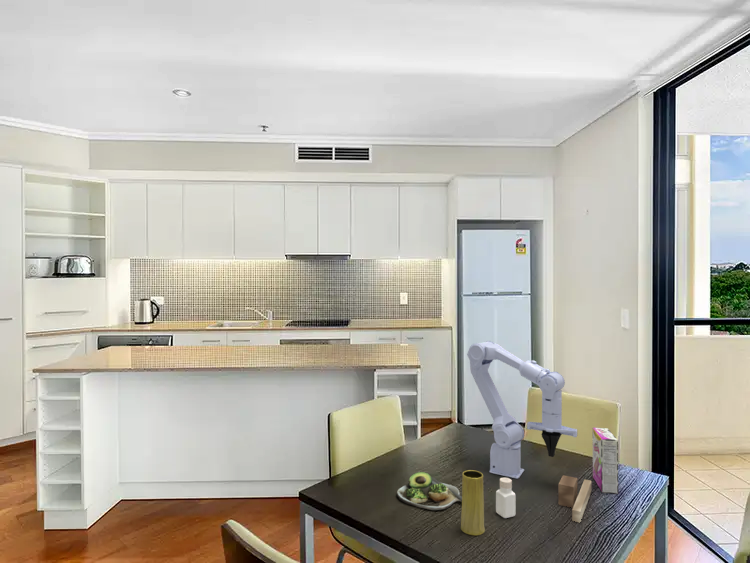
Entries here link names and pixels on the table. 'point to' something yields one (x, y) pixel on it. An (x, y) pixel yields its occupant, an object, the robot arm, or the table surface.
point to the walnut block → (567, 491)
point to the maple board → (581, 501)
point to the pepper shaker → (505, 499)
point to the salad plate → (428, 492)
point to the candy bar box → (605, 460)
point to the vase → (472, 503)
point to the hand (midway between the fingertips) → (551, 455)
